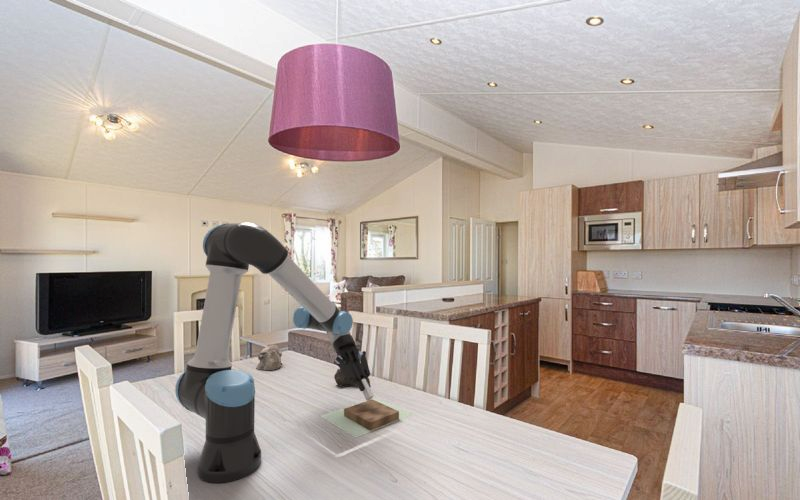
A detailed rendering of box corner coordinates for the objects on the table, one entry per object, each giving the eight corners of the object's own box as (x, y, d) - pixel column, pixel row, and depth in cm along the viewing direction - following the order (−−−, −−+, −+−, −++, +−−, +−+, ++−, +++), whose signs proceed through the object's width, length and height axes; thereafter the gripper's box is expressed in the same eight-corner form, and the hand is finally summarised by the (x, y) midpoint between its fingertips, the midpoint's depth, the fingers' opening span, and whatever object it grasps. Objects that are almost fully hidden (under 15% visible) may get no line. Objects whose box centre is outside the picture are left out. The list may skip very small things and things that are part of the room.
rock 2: (363, 393, 154) (373, 385, 164) (365, 372, 154) (375, 365, 163) (332, 386, 159) (343, 378, 168) (333, 365, 159) (344, 359, 168)
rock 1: (286, 369, 182) (286, 347, 182) (259, 373, 176) (259, 351, 176) (277, 361, 195) (277, 341, 195) (252, 365, 188) (252, 344, 188)
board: (344, 416, 129) (370, 430, 118) (344, 408, 129) (370, 422, 118) (372, 406, 137) (398, 419, 127) (372, 399, 137) (398, 411, 127)
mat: (355, 440, 114) (355, 437, 114) (319, 418, 129) (319, 416, 129) (412, 416, 130) (412, 414, 130) (375, 399, 145) (375, 397, 145)
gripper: (352, 342, 147) (380, 398, 134) (322, 348, 138) (349, 409, 126) (360, 330, 143) (390, 387, 131) (330, 336, 134) (359, 397, 122)
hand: (370, 398), depth 128 cm, fingers closed
